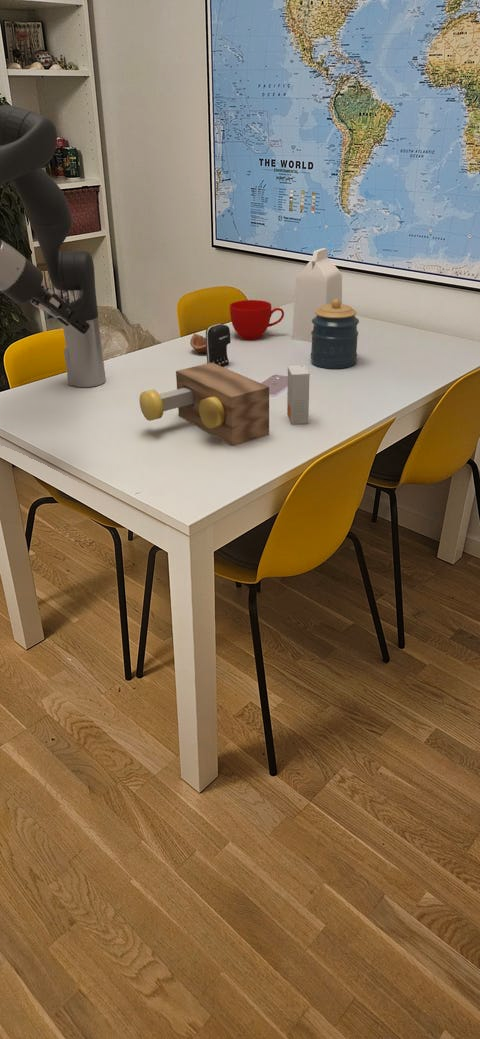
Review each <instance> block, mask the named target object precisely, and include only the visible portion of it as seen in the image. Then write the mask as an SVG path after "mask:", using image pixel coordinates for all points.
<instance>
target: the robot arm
mask: <svg viewBox="0 0 480 1039" xmlns="http://www.w3.org/2000/svg"><path fill="white" fill-rule="evenodd" d="M56 129H57V128H56V125H55V124H54V122H53V121H52V120H51V119H50V118H48V117H47V116H45V115H43V114H41V113H38V112H34V111H32V110H30V109H29V110H28V109H25V108H22V107H21V106H16V105H13V104H12V105H11V104H2V105H0V186H1V185H4V184H6V183H9V182H10V181H12V182H13V185H14V187H15V189H16V192H17V193H18V196H19V198H20V201H21V203H22V205H23V208H24V212H25V215H26V217H27V219H28V222H29V224H30V227H31V229H32V231H33V233H34V235H35V237H36V240H37V243H38V244H39V245H38V246H39V248H40V250H41V253H42V257H43V260H44V263H45V267H46V270H47V271H46V272H47V274H48V277H49V280H50V283H51V284H52V286H53V287H54V288H55V289H56V290H58V291H63V292H67V291H68V292H71V291H74V292H75V291H81V296H79V297H78V298H77V299H75V300H73V301H71V302H68V303H67V301H65V300H64V299H63V298H61V297H60V296H59V295H58V294H57V293H55V291H54V290H52V289H51V288H49V287H46V286H44V285H43V284H42V283H43V280H44V273H43V271H42V270H41V269H40V268H39V267H37V266H36V264H34V263H32V262H31V261H30V260H29V259H28V258H26V257H25V256H24V255H23V254H22V253H20V252H19V250H17V249H16V248H14V247H13V246H11V245H10V244H8V243H6V242H5V241H4V240H2V239H1V238H0V292H1V293H3V294H4V295H5V296H6V297H8V298H9V299H10V300H11V301H13V302H14V303H16V304H17V305H23V304H26V303H28V302H30V303H31V304H32V306H33V307H36V308H38V309H39V310H40V311H42V312H44V313H46V314H48V315H50V316H52V317H53V318H55V319H56V320H57V321H59V322H60V323H61V324H62V329H63V330H62V331H63V337H64V342H65V348H64V349H63V355H64V361H65V367H66V368H65V369H66V375H67V381H68V382H67V383H68V386H74V387H77V388H92V387H93V388H94V387H97V386H100V385H102V384H105V383H106V380H107V378H106V370H105V360H104V353H103V346H102V345H103V343H102V336H101V329H100V327H101V326H100V317H99V311H98V303H97V302H98V301H97V292H96V291H97V290H96V278H95V274H96V273H95V265H94V260H93V257H92V254H91V253H90V252H89V251H87V250H69V251H68V250H67V251H66V250H65V251H60V248H61V247H62V246H63V245H62V244H63V243H64V242H65V240H66V239H67V237H68V235H69V233H70V231H71V228H72V225H73V224H72V223H73V219H72V218H73V217H72V214H71V211H70V208H69V204H68V201H67V197H66V195H65V194H64V192H63V190H62V189H61V187H59V185H58V184H57V183H56V182H55V180H54V179H53V178H52V177H51V176H50V175H49V173H47V172H46V171H45V170H44V169H43V167H44V166H46V165H47V164H49V163H50V161H51V160H52V158H53V157H54V155H55V152H56V150H57V146H58V145H57V143H58V132H57V130H56Z"/></svg>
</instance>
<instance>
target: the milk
mask: <svg viewBox="0 0 480 1039" xmlns="http://www.w3.org/2000/svg"><path fill="white" fill-rule="evenodd" d="M327 250H328V249H327V247H324V248H323V247H322V248H319V249H316V250H313V253H312V258H311V260H310V261H308V262H307V264H306V265H305V267H304V268H303V269H302V270H301V271H300V272H299V273H298V275H297V276H296V278H295V283H294V284H295V287H294V304H293V315H292V316H293V318H292V332H291V333H292V336H291V339H292V340H297V341H303V342H308V343H312V334H311V332H312V330H313V326H314V324H313V323H312V319H313V318H314V317H316V314H315V311H316V310H317V309H319V308H320V307H321V306H323V305H328V304H331V303H332V300H334V299H339V300H340V301H341V304H343V276H342V273H341V271H340V270H339V269H338V267H337V266H336V265H335V264H334V262H332V260H330V258H329V256H328V251H327Z"/></svg>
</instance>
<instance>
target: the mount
mask: <svg viewBox="0 0 480 1039" xmlns="http://www.w3.org/2000/svg"><path fill="white" fill-rule="evenodd" d="M175 377H176V378H175V379H176V390H177V389H181V388H185V387H190V388H192V389H193V397H194V403H193V404H190V405H186V406H182V407H178V408H177V410H178V417H180V418H181V419H183V420H185V421H187V422H188V423H190V424H192V425H194V426H196V427H198V428H200V429H201V430H203V431H205V432H206V433H208V434H210V435H212V436H214V437H216V438H217V439H220V440H221V441H223V442H225V443H227V444H228V445H231V446H232V447H233V446H237V445H241V444H243V443H246V442H249V441H254V440H255V439H259V438H262V437H266V436H269V435H270V396H269V387H268V386H266V385H263V384H261V383H262V382H258V381H256V380H254V379H251V378H249V377H247V376H244V375H242V374H240V373H237V372H235V371H234V370H230V369H228V368H227V367H225V366H223V367H222V366H219V365H217V364H215V363H207V362H206V363H204V364H199V365H196V366H192V367H188V368H184V369H179V370H178V369H177V370H175Z"/></svg>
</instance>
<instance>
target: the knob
mask: <svg viewBox="0 0 480 1039" xmlns="http://www.w3.org/2000/svg"><path fill="white" fill-rule="evenodd" d="M193 403H194V397H193V389H192V388H190V387H185V388H181V389H177V388H176V389H174V390H173V389H172V390H170V391H167V392H161V393H159V392H158V391H156V390H155V389H150V390H146V391H142V392H140V395H139V406H140V407H139V408H140V410H141V413H142V414H143V417H144V418H145V419H146V420H147V421H149V422H151V421H154V420H155V421H156V420H158V419H161V418H162V417H163V415H164V412H166V411H170V410H171V411H172V410H174V409H178V407H182V406H186V405H190V404H193Z"/></svg>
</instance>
